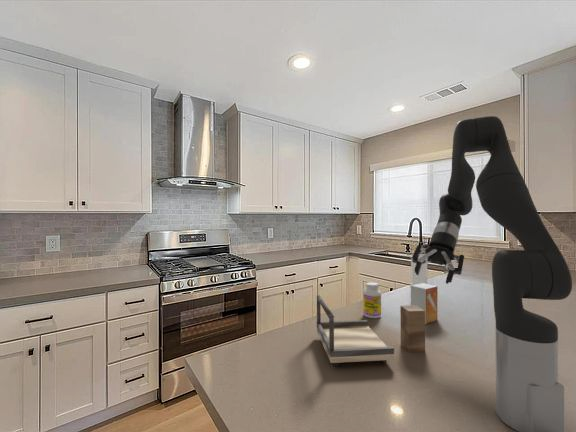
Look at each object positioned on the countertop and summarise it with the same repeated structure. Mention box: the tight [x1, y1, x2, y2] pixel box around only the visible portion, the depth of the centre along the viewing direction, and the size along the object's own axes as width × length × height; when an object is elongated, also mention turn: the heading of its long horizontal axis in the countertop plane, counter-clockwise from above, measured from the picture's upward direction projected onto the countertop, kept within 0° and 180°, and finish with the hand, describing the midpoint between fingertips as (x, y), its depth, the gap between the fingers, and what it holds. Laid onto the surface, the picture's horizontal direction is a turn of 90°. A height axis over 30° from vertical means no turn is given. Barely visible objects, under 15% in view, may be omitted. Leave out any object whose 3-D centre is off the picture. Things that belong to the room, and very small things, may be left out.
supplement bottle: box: [363, 281, 382, 319], centre depth 112 cm, size 7×7×13 cm
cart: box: [316, 294, 395, 367], centre depth 84 cm, size 20×17×14 cm
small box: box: [410, 283, 439, 325], centre depth 107 cm, size 8×6×13 cm
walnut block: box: [399, 304, 426, 353], centre depth 85 cm, size 5×5×12 cm
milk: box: [410, 253, 428, 287], centre depth 129 cm, size 6×6×22 cm
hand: (431, 277), depth 87 cm, fingers open, 8 cm apart
